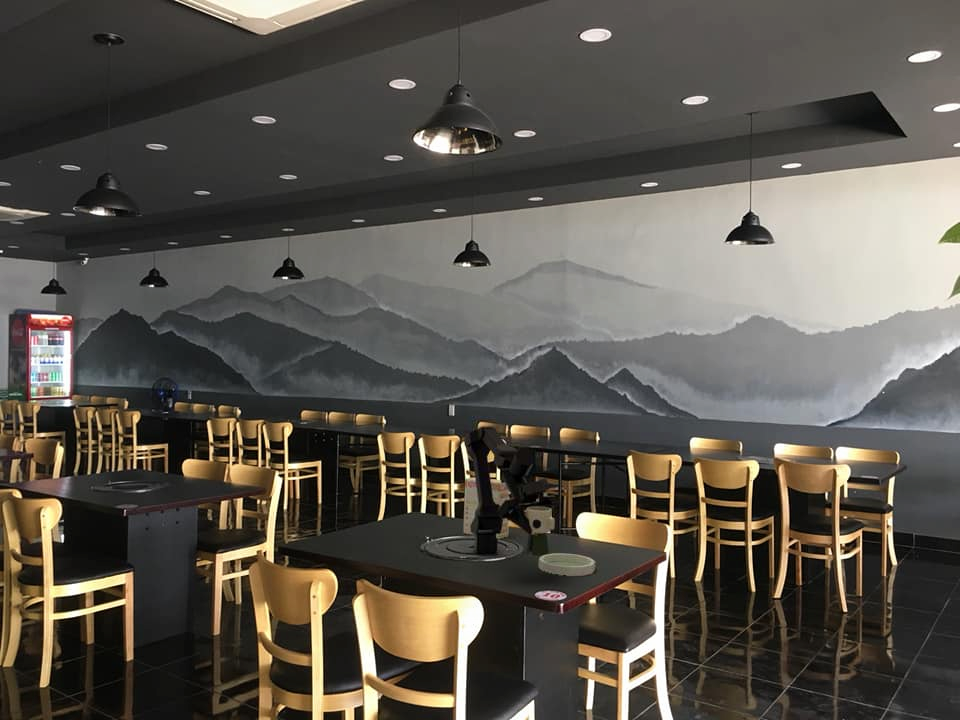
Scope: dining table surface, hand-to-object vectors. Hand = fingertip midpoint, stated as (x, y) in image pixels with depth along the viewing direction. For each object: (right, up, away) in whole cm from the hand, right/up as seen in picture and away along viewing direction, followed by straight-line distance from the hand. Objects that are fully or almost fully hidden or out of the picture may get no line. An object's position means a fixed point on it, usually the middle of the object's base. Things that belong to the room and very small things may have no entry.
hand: (541, 532), depth 210 cm
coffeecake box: (-15, -14, +56) cm, 59 cm away
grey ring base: (+9, -14, +13) cm, 21 cm away
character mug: (-1, -7, +1) cm, 7 cm away
